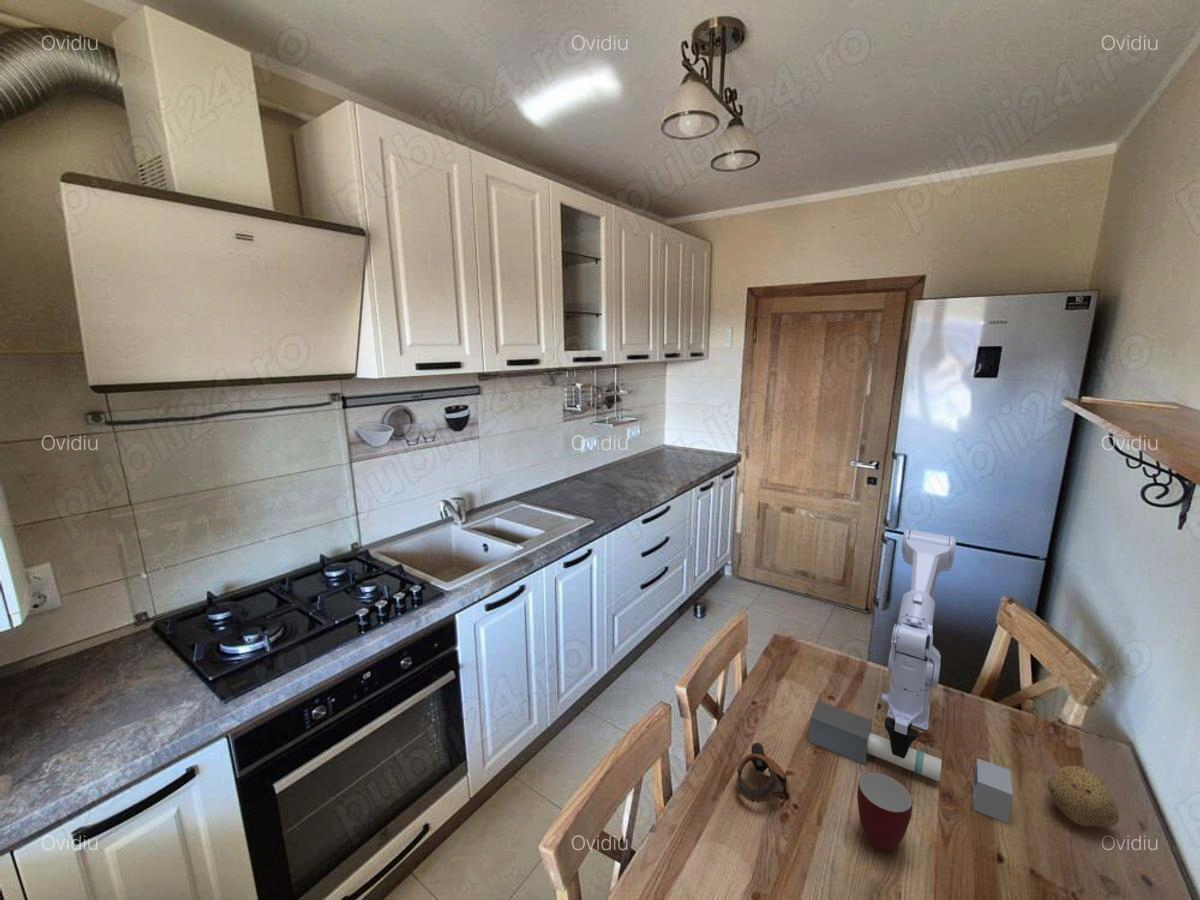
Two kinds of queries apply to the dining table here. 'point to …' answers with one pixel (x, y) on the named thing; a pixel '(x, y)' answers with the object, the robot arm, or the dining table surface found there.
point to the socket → (992, 790)
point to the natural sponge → (1083, 797)
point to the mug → (883, 810)
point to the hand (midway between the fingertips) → (900, 743)
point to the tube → (912, 760)
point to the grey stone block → (840, 732)
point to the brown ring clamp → (760, 765)
